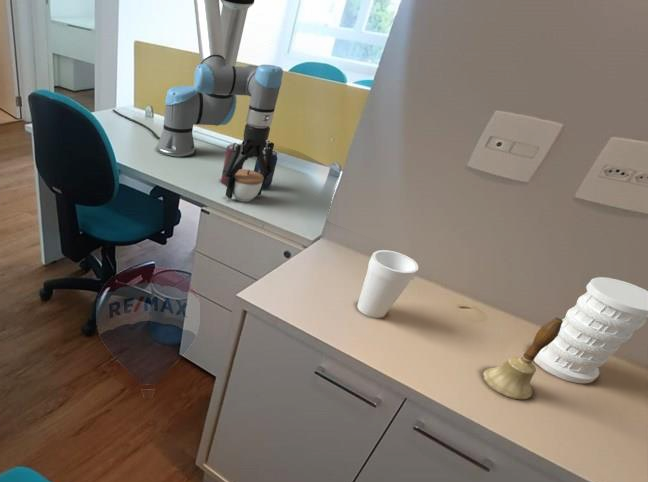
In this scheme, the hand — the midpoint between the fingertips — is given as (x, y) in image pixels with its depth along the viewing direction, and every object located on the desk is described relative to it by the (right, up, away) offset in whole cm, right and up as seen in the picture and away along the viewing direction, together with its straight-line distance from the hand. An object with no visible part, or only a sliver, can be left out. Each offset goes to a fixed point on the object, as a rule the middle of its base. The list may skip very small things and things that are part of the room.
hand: (243, 195), depth 148 cm
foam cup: (+20, -41, -44) cm, 64 cm away
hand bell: (+39, -56, -61) cm, 92 cm away
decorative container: (+55, -53, -55) cm, 94 cm away
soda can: (+8, +6, +10) cm, 14 cm away
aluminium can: (-2, +8, +11) cm, 14 cm away
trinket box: (0, -1, +1) cm, 1 cm away
